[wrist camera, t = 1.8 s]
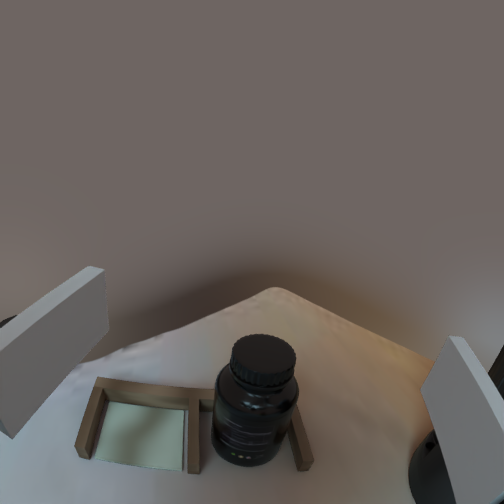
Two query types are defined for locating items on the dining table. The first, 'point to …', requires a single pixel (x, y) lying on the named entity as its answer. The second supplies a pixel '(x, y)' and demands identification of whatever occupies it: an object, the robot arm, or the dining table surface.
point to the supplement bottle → (254, 400)
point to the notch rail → (158, 425)
